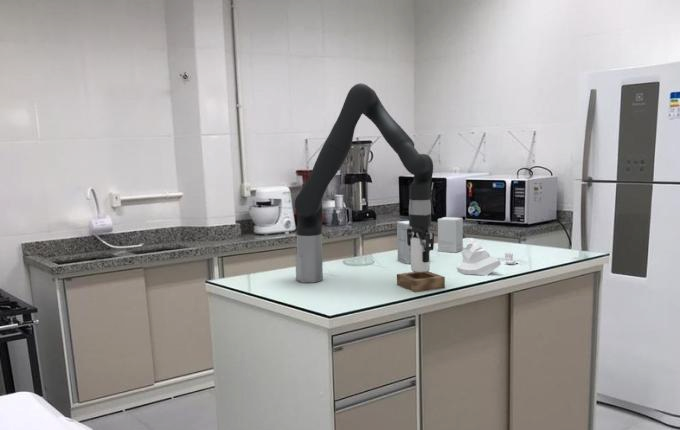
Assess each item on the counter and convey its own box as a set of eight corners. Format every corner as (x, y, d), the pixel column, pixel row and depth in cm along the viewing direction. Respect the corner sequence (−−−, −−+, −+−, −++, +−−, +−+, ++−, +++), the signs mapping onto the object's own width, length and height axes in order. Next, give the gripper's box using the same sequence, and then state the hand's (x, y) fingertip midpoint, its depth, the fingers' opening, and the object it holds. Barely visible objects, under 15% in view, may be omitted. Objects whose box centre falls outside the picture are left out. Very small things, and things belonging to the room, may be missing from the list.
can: (429, 272, 202) (429, 238, 200) (410, 272, 203) (410, 237, 202) (430, 268, 208) (430, 235, 207) (411, 268, 209) (411, 234, 208)
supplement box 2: (463, 249, 272) (463, 217, 271) (456, 253, 265) (456, 219, 263) (444, 248, 277) (444, 216, 275) (437, 251, 270) (437, 218, 268)
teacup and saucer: (514, 266, 236) (514, 256, 236) (495, 264, 241) (495, 254, 240) (522, 262, 243) (522, 253, 242) (503, 260, 248) (503, 251, 247)
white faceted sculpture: (474, 282, 217) (463, 245, 216) (455, 276, 231) (445, 242, 230) (502, 270, 220) (492, 235, 219) (482, 266, 235) (472, 232, 233)
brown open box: (414, 292, 198) (414, 281, 198) (396, 284, 209) (396, 274, 209) (444, 287, 203) (444, 276, 203) (425, 280, 214) (425, 270, 214)
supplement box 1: (427, 262, 246) (427, 222, 244) (407, 264, 243) (407, 223, 241) (416, 258, 255) (415, 219, 253) (396, 260, 251) (396, 221, 249)
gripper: (399, 211, 208) (400, 257, 210) (422, 215, 195) (422, 265, 197) (417, 209, 211) (418, 255, 213) (441, 213, 198) (441, 262, 200)
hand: (420, 260), depth 205 cm, fingers closed on can, 6 cm apart
